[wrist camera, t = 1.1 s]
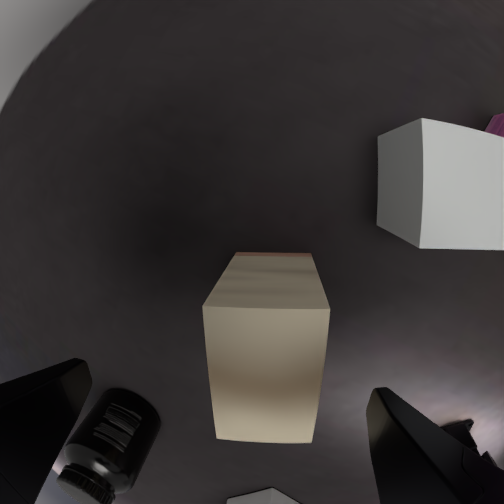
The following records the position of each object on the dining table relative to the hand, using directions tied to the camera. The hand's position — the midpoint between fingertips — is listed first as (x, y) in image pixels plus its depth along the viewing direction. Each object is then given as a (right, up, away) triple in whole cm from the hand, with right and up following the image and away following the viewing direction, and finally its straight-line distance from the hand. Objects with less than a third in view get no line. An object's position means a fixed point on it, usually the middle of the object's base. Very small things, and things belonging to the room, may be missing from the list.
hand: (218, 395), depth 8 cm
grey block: (+12, +9, +10) cm, 18 cm away
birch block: (+2, 0, +13) cm, 13 cm away
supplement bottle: (-11, -12, +18) cm, 24 cm away
